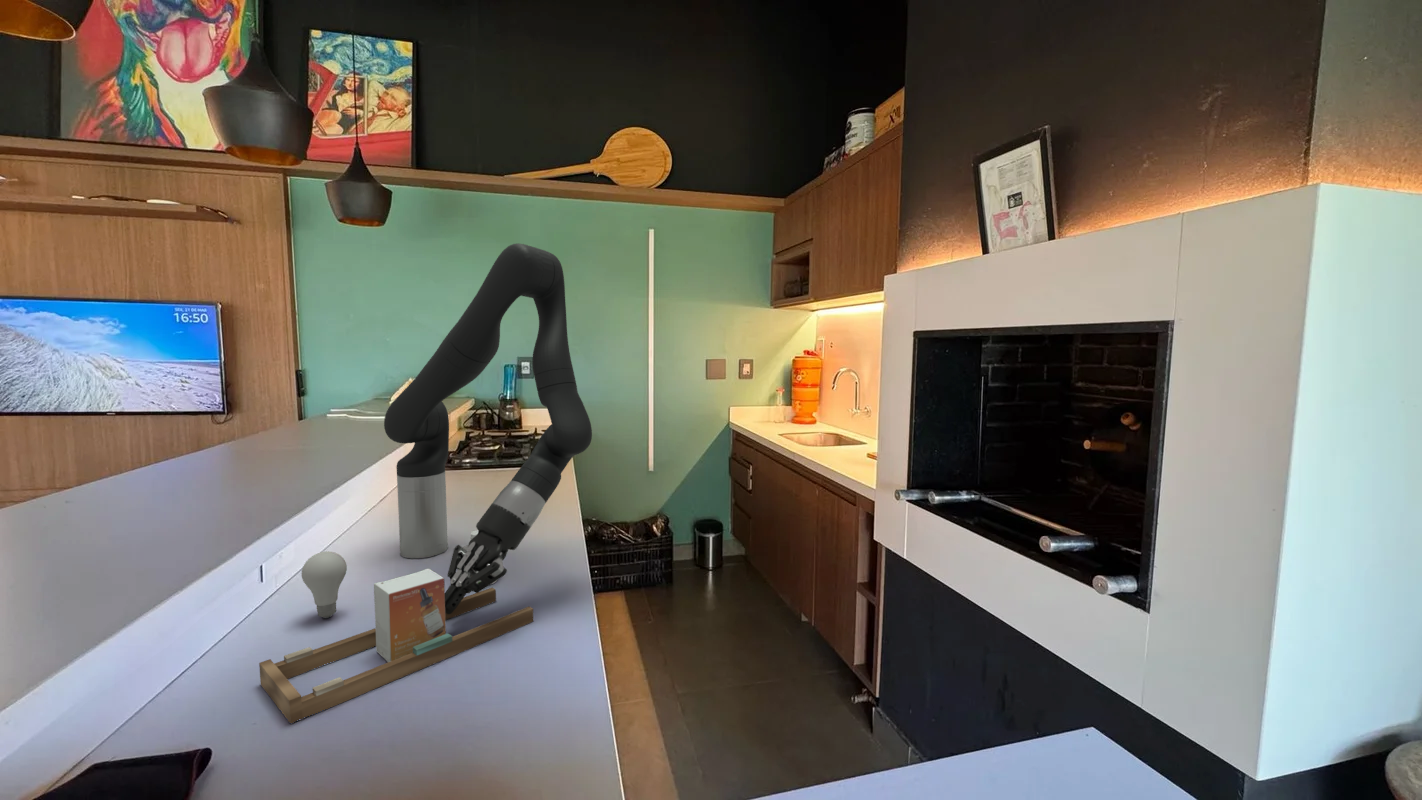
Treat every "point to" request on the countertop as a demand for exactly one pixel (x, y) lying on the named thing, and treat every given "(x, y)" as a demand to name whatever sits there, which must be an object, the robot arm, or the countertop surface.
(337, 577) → the lightbulb
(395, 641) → the small box
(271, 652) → the countertop surface
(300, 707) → the u-shaped wooden frame
